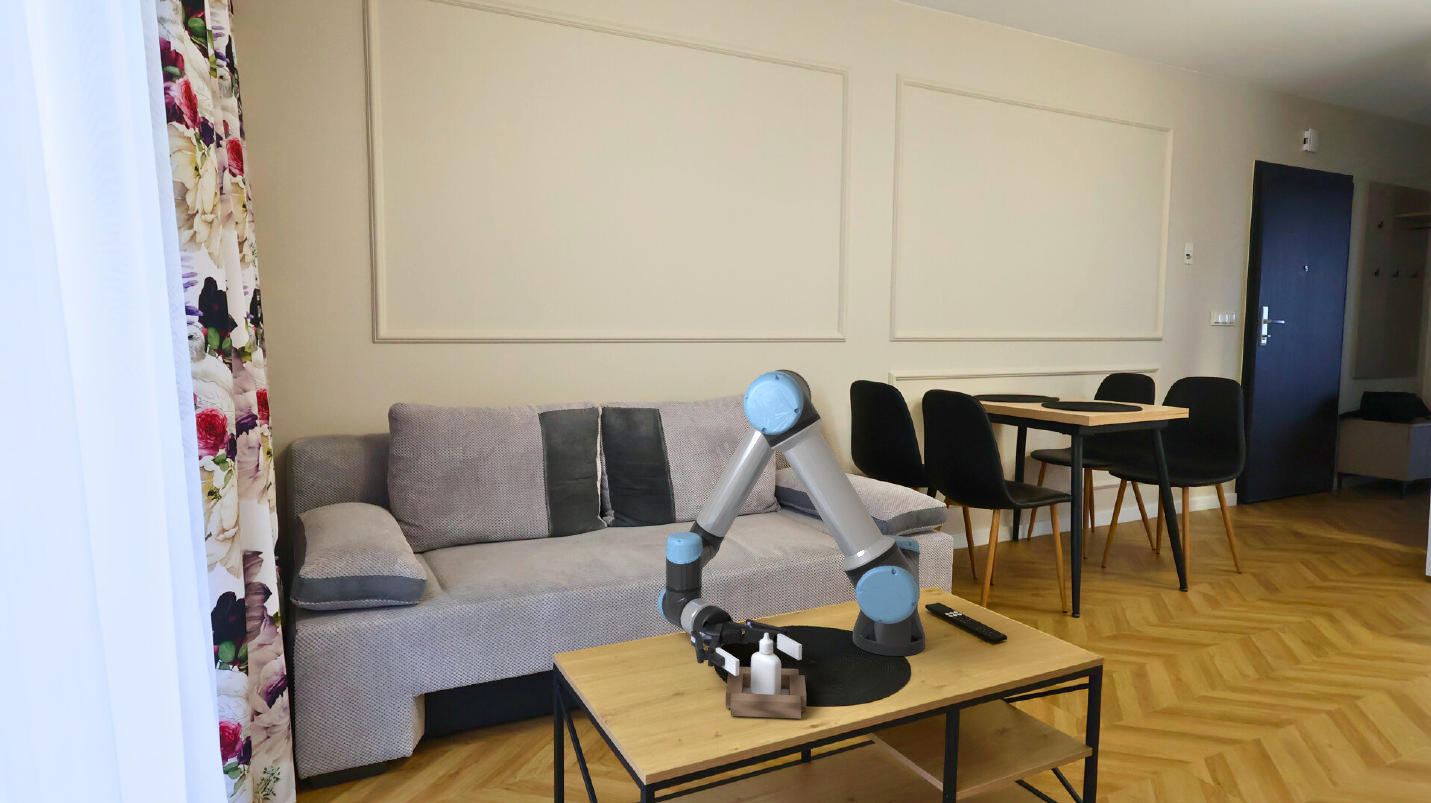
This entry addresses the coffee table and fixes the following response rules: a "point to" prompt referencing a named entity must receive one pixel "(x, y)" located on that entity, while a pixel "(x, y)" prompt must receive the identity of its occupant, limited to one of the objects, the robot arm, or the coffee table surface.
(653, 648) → the coffee table surface
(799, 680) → the socket block
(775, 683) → the eye dropper bottle
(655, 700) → the coffee table surface
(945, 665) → the coffee table surface
